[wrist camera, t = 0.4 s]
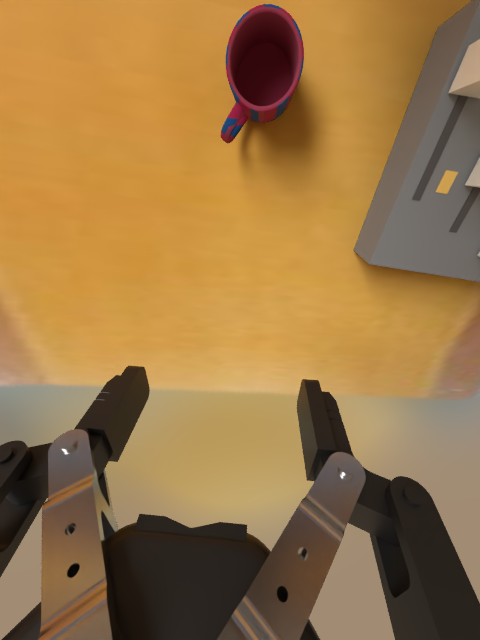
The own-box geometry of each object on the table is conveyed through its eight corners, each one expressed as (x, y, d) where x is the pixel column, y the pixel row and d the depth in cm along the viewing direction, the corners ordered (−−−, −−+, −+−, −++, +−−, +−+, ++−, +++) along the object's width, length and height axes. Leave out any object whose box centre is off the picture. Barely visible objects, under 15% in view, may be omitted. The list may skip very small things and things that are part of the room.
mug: (307, 81, 27) (320, 58, 21) (243, 161, 31) (239, 159, 26) (264, 20, 25) (265, -24, 19) (202, 114, 29) (187, 101, 24)
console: (437, 27, 25) (485, -11, 19) (592, 54, 25) (680, 23, 19) (353, 250, 36) (369, 264, 31) (459, 267, 36) (492, 284, 31)
